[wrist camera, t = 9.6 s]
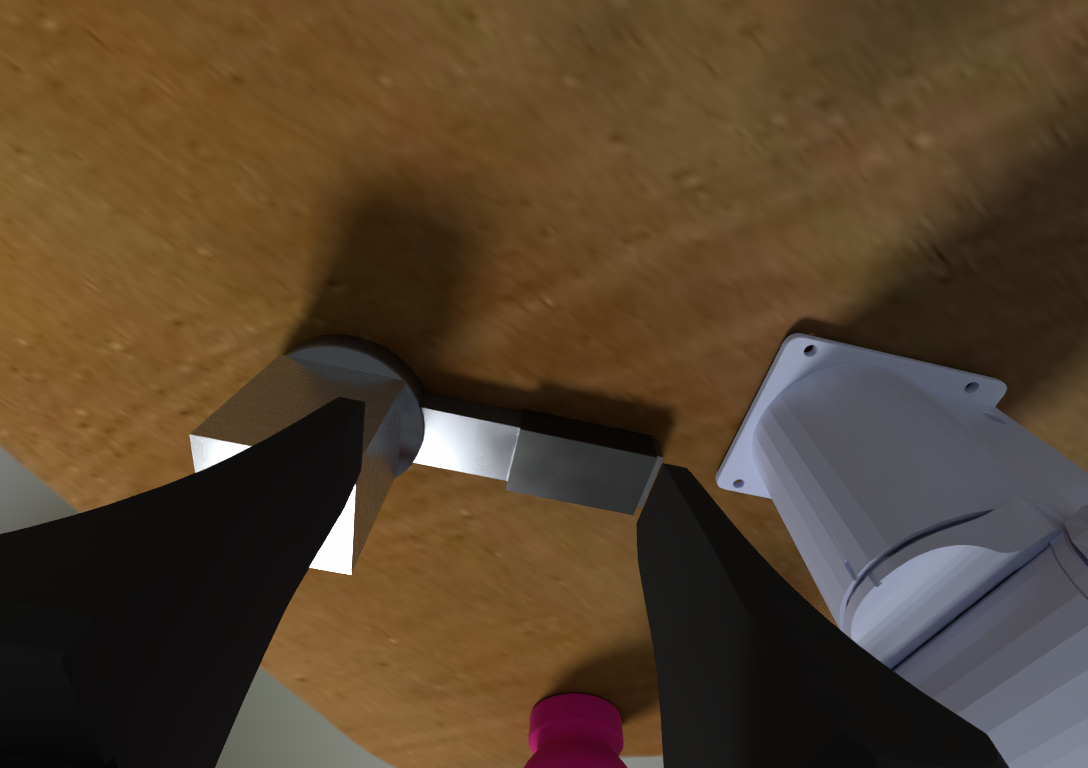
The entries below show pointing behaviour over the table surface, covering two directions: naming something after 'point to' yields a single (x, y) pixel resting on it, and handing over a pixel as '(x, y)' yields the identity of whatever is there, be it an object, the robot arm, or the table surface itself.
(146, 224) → the table surface
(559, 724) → the pepper mill
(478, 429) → the ratchet
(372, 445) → the metal cube
